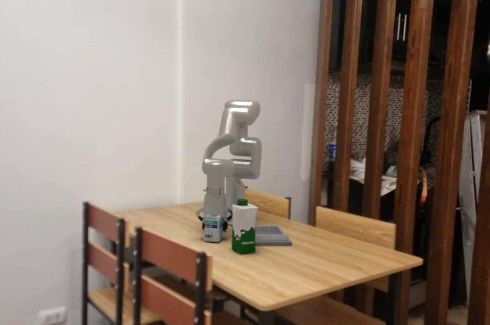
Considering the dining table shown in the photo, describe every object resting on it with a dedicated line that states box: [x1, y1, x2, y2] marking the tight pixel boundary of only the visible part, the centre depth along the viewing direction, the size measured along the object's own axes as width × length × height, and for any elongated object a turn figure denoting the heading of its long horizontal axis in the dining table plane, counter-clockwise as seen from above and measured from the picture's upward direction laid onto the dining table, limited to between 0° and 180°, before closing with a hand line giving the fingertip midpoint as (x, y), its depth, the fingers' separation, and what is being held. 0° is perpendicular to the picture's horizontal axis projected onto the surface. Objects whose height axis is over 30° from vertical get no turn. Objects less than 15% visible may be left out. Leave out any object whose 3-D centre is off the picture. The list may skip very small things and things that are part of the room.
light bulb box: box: [203, 215, 226, 243], centre depth 184 cm, size 11×7×11 cm, turn 169°
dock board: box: [255, 232, 293, 247], centre depth 187 cm, size 19×19×2 cm
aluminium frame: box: [255, 225, 288, 241], centre depth 187 cm, size 15×15×2 cm
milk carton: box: [231, 198, 259, 255], centre depth 170 cm, size 9×9×20 cm
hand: (214, 231), depth 184 cm, fingers closed on light bulb box, 8 cm apart
